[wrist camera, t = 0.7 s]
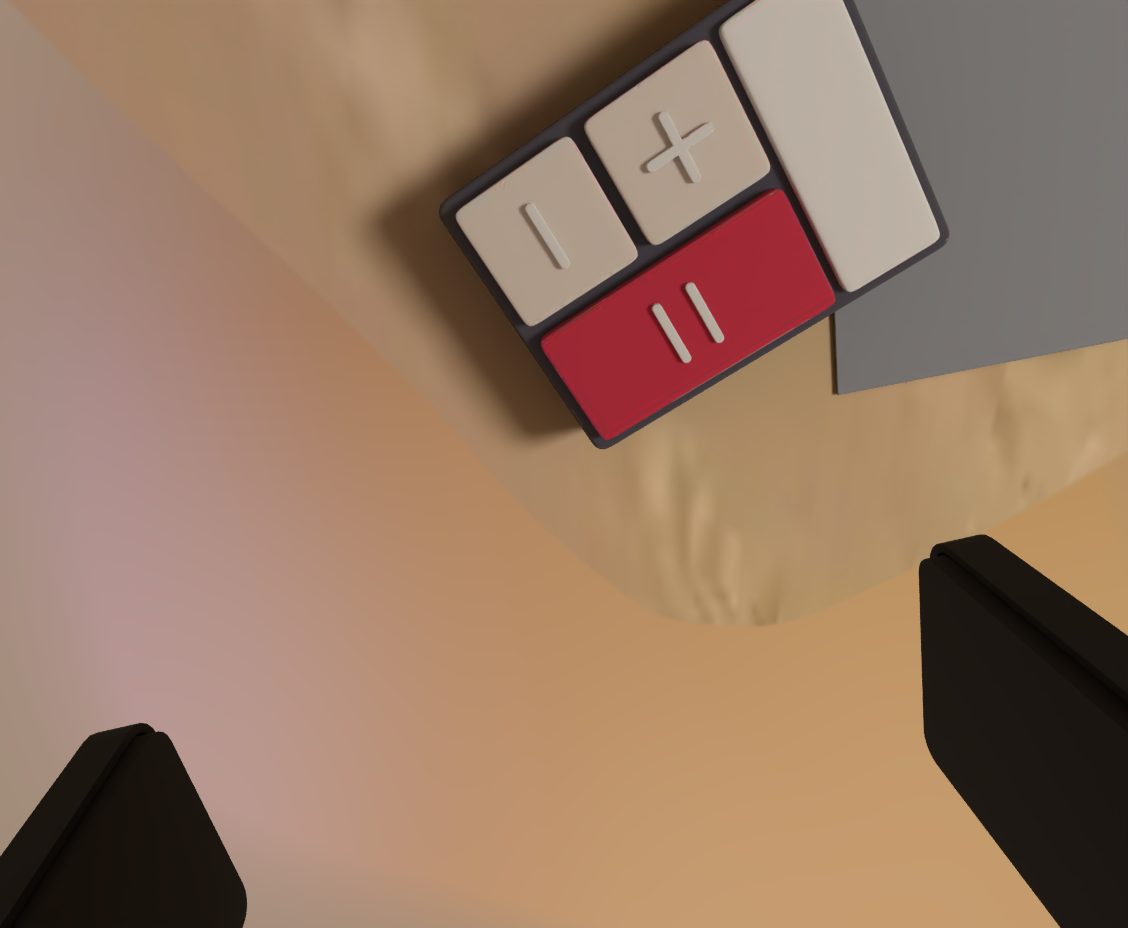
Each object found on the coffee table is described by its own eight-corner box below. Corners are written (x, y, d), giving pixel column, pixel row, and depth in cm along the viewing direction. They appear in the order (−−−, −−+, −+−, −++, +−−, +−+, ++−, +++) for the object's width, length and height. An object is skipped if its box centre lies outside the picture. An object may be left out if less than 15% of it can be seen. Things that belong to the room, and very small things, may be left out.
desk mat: (820, -30, 27) (821, -31, 27) (1224, -105, 27) (1228, -106, 27) (836, 394, 33) (838, 395, 33) (1169, 329, 33) (1171, 330, 33)
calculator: (429, 210, 25) (836, -77, 22) (444, 201, 29) (791, -43, 26) (601, 462, 29) (966, 243, 26) (593, 424, 33) (910, 230, 30)
